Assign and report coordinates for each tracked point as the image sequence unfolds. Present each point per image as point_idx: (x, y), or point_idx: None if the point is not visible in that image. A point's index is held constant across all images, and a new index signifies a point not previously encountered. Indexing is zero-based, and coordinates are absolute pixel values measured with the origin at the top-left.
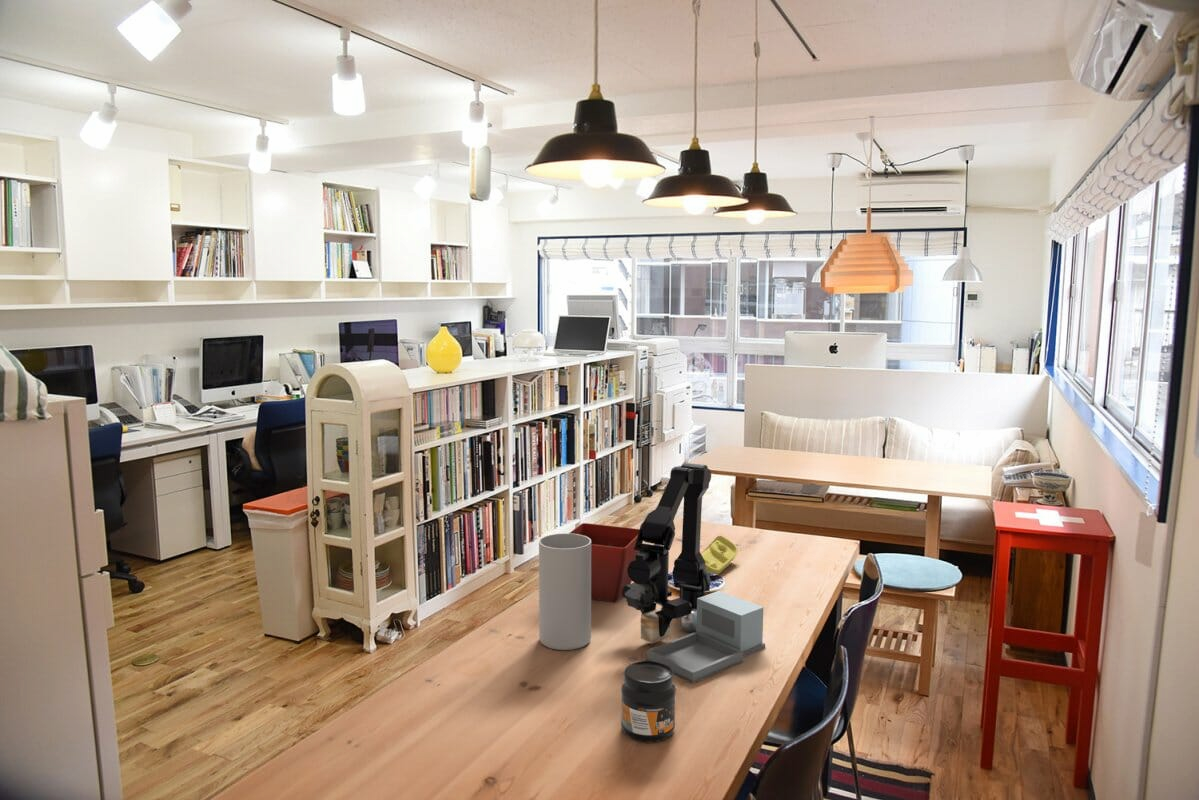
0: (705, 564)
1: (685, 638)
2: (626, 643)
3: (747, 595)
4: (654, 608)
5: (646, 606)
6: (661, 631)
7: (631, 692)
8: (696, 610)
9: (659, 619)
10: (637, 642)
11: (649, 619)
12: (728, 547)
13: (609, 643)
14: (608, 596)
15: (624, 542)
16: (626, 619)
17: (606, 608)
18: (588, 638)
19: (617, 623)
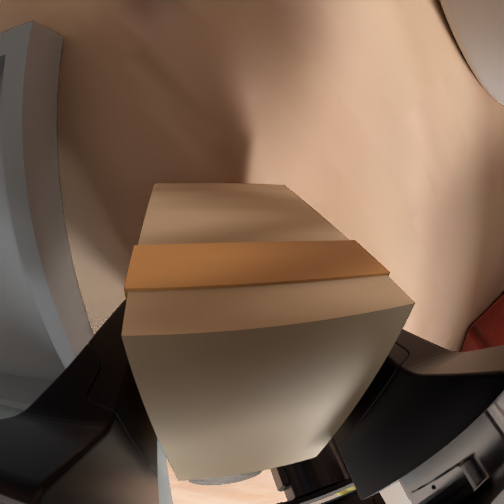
0: None
1: (64, 362)
2: (337, 116)
3: (256, 487)
4: (343, 441)
5: (413, 428)
6: (120, 304)
7: None
8: (216, 483)
9: (103, 399)
10: (298, 174)
11: (212, 313)
12: (351, 490)
13: (396, 61)
14: (490, 322)
15: None
16: (433, 297)
17: (481, 291)
18: (458, 1)
19: (448, 254)
